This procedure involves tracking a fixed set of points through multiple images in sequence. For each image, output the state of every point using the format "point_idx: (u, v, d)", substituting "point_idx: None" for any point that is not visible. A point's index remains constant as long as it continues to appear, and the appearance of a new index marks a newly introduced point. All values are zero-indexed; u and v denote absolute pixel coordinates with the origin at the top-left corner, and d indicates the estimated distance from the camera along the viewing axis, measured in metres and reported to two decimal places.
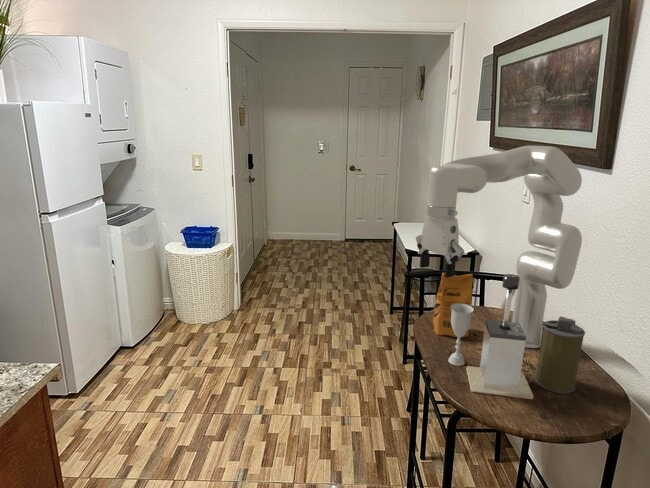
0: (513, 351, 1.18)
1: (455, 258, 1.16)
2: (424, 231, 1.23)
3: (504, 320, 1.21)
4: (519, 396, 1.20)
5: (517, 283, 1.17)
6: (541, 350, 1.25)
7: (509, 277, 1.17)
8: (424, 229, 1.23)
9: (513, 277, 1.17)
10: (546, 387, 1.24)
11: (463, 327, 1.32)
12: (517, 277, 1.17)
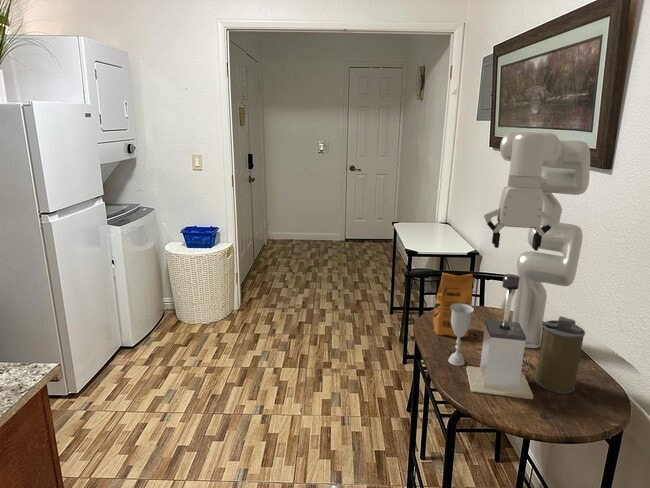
0: (513, 351, 1.18)
1: (548, 228, 1.12)
2: (507, 206, 1.12)
3: (504, 320, 1.21)
4: (519, 396, 1.20)
5: (517, 283, 1.17)
6: (541, 350, 1.25)
7: (509, 277, 1.17)
8: (507, 204, 1.12)
9: (513, 277, 1.17)
10: (546, 387, 1.24)
11: (463, 327, 1.32)
12: (517, 277, 1.17)
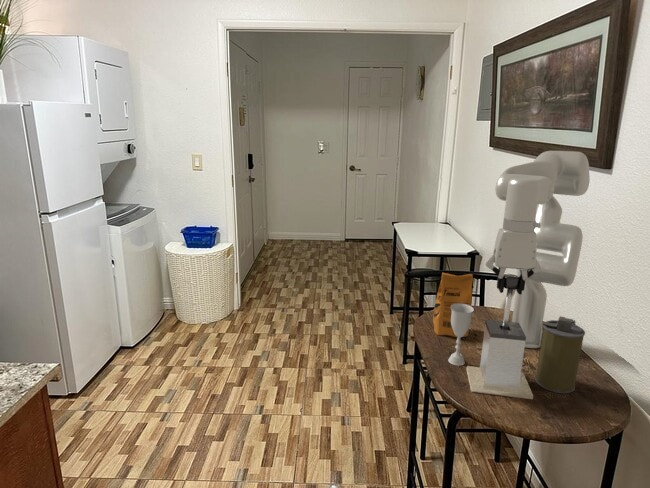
0: (513, 351, 1.18)
1: (532, 273, 1.16)
2: (502, 249, 1.15)
3: (504, 320, 1.21)
4: (519, 396, 1.20)
5: (517, 283, 1.17)
6: (541, 350, 1.25)
7: (509, 277, 1.17)
8: (502, 246, 1.14)
9: (513, 277, 1.17)
10: (546, 387, 1.24)
11: (463, 327, 1.32)
12: (517, 277, 1.17)
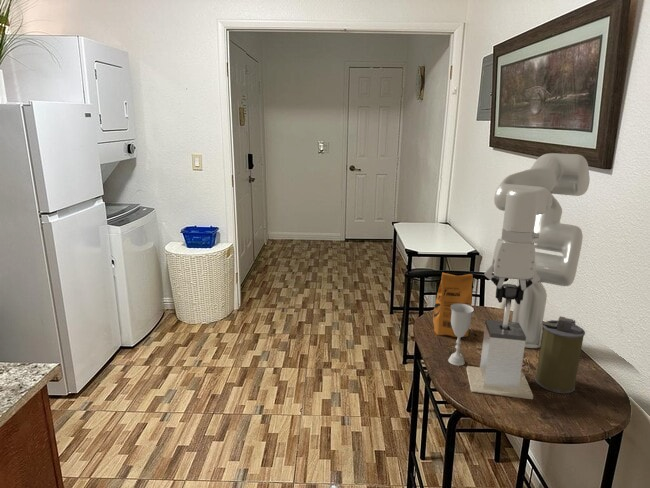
0: (513, 351, 1.18)
1: (530, 283, 1.17)
2: (501, 259, 1.15)
3: (503, 329, 1.22)
4: (519, 396, 1.20)
5: (516, 293, 1.17)
6: (541, 350, 1.25)
7: (508, 287, 1.18)
8: (501, 257, 1.15)
9: (511, 287, 1.18)
10: (546, 387, 1.24)
11: (463, 327, 1.32)
12: (516, 287, 1.18)
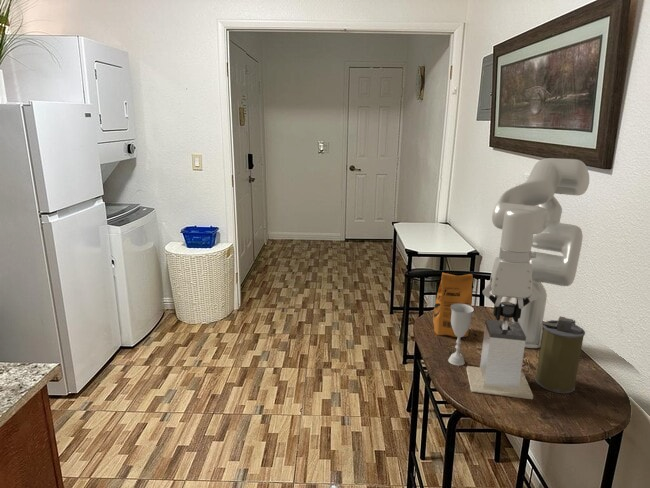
0: (513, 351, 1.18)
1: (527, 302, 1.18)
2: (499, 278, 1.17)
3: None
4: (519, 396, 1.20)
5: (513, 311, 1.19)
6: (541, 350, 1.25)
7: (506, 305, 1.19)
8: (499, 276, 1.17)
9: (509, 305, 1.19)
10: (546, 387, 1.24)
11: (463, 327, 1.32)
12: (513, 305, 1.19)
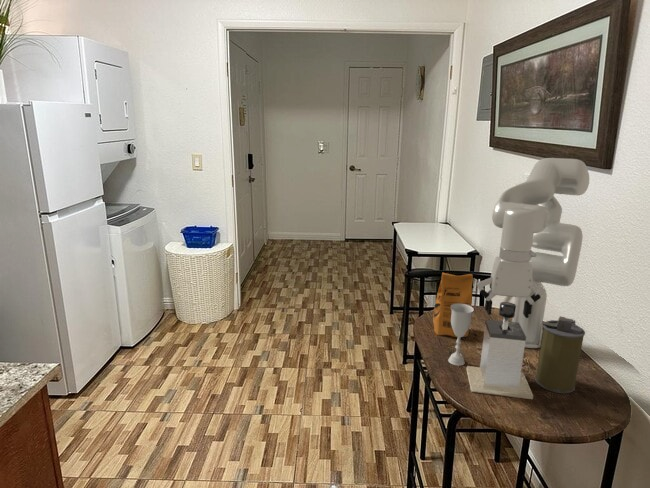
0: (513, 351, 1.18)
1: (538, 297, 1.17)
2: (499, 277, 1.17)
3: None
4: (519, 396, 1.20)
5: (513, 311, 1.19)
6: (541, 350, 1.25)
7: (506, 305, 1.19)
8: (499, 275, 1.17)
9: (509, 305, 1.19)
10: (546, 387, 1.24)
11: (463, 327, 1.32)
12: (513, 305, 1.19)
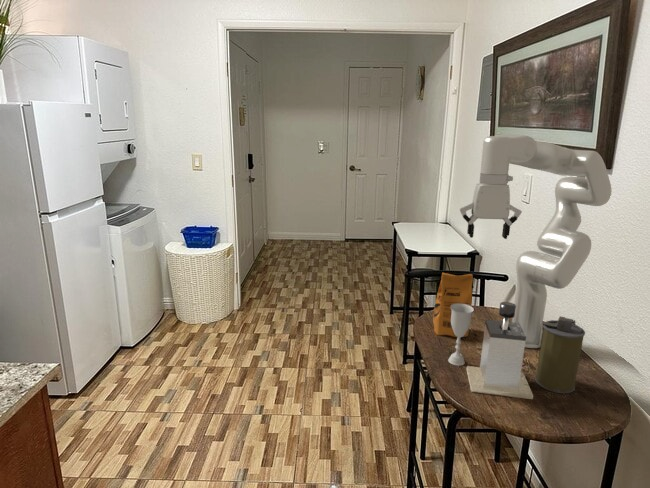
0: (513, 351, 1.18)
1: (515, 219, 1.28)
2: (480, 201, 1.27)
3: None
4: (519, 396, 1.20)
5: (513, 311, 1.19)
6: (541, 350, 1.25)
7: (506, 305, 1.19)
8: (480, 199, 1.27)
9: (509, 305, 1.19)
10: (546, 387, 1.24)
11: (463, 327, 1.32)
12: (513, 305, 1.19)
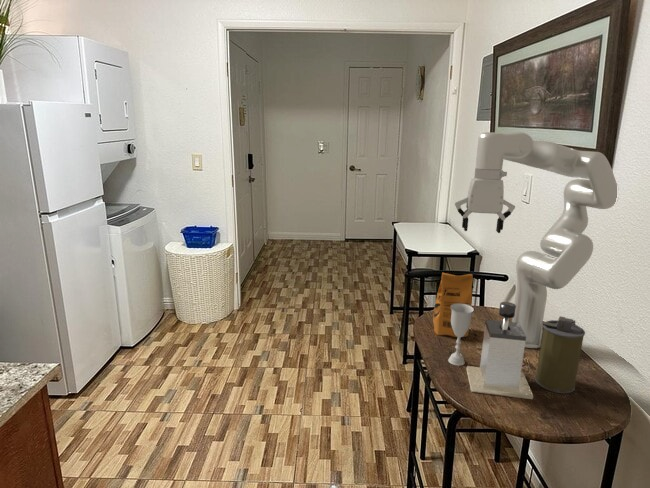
0: (513, 351, 1.18)
1: (509, 214, 1.32)
2: (474, 195, 1.31)
3: None
4: (519, 396, 1.20)
5: (513, 311, 1.19)
6: (541, 350, 1.25)
7: (506, 305, 1.19)
8: (474, 193, 1.31)
9: (509, 305, 1.19)
10: (546, 387, 1.24)
11: (463, 327, 1.32)
12: (513, 305, 1.19)
